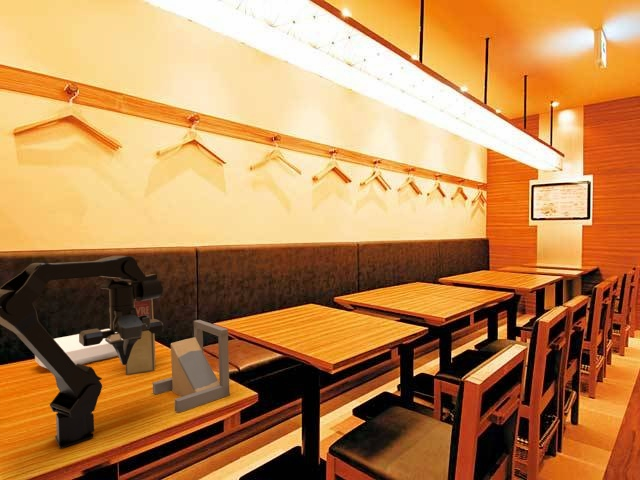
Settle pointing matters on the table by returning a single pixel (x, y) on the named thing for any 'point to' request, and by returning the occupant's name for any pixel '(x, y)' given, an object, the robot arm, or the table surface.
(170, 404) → the table surface
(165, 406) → the table surface
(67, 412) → the robot arm
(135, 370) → the food packaging
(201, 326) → the grey frame stand
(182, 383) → the sandwich container
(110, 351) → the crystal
